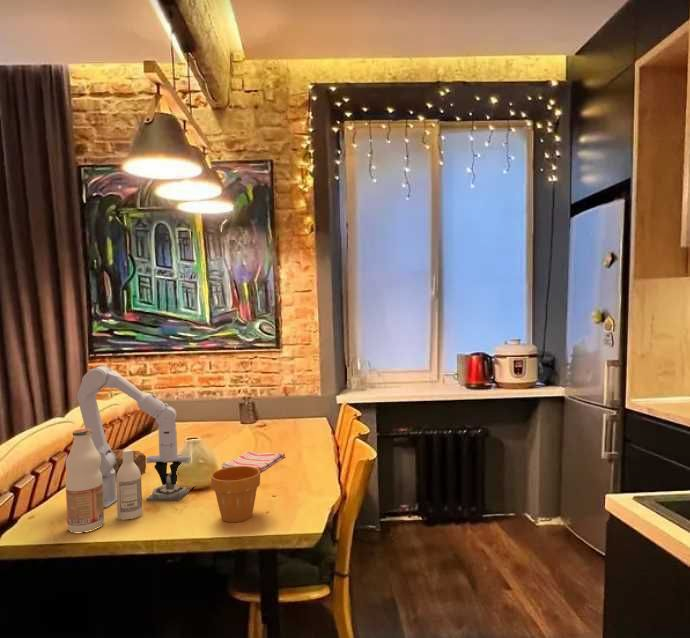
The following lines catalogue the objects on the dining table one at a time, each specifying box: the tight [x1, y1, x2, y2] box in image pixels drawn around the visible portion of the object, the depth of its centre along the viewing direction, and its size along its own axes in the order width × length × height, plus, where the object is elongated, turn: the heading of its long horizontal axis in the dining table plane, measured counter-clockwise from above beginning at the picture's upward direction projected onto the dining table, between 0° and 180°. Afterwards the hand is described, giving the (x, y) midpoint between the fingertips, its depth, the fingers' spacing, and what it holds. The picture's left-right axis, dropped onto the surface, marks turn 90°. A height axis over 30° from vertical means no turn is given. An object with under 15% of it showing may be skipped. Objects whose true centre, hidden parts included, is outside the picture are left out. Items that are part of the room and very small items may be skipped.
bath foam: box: [116, 448, 143, 520], centre depth 155 cm, size 7×7×20 cm
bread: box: [111, 448, 147, 476], centre depth 196 cm, size 19×11×10 cm, turn 85°
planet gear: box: [159, 472, 181, 494], centre depth 174 cm, size 7×7×6 cm
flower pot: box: [210, 466, 261, 523], centre depth 153 cm, size 14×14×13 cm
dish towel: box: [221, 451, 286, 473], centre depth 207 cm, size 17×23×4 cm
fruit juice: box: [65, 428, 105, 532], centre depth 148 cm, size 9×9×28 cm
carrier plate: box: [145, 484, 191, 502], centre depth 175 cm, size 15×11×4 cm
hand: (169, 484), depth 173 cm, fingers closed on planet gear, 3 cm apart
